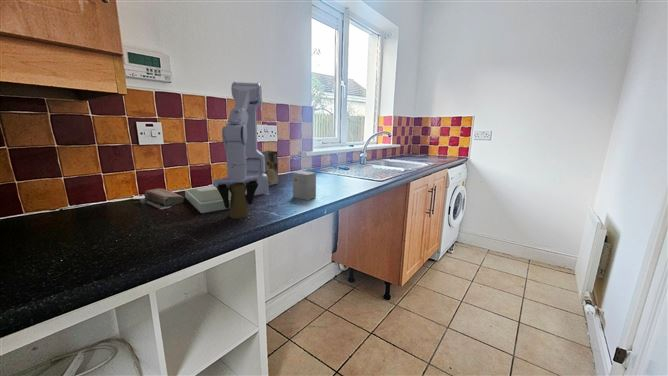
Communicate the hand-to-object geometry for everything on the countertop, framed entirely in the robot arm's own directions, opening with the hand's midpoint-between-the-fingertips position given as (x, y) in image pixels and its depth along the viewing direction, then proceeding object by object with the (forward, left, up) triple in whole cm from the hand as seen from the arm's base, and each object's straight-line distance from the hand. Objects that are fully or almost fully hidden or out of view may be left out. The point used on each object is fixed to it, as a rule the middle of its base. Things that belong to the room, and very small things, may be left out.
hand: (238, 205), depth 90 cm
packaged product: (+17, -27, -4) cm, 32 cm away
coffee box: (-28, -37, -4) cm, 47 cm away
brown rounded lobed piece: (0, 0, -4) cm, 4 cm away
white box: (+3, -22, -2) cm, 22 cm away
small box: (-30, -7, -4) cm, 31 cm away
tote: (+3, -17, -3) cm, 18 cm away
